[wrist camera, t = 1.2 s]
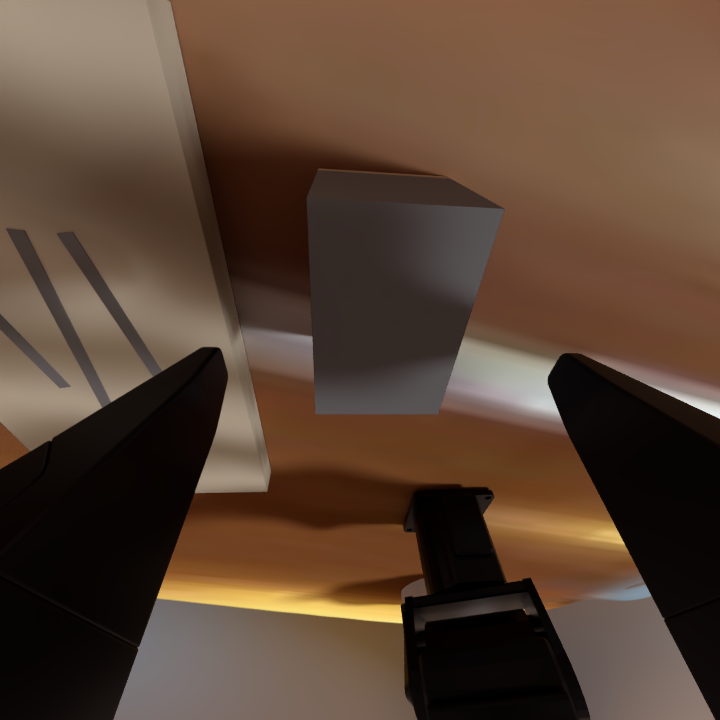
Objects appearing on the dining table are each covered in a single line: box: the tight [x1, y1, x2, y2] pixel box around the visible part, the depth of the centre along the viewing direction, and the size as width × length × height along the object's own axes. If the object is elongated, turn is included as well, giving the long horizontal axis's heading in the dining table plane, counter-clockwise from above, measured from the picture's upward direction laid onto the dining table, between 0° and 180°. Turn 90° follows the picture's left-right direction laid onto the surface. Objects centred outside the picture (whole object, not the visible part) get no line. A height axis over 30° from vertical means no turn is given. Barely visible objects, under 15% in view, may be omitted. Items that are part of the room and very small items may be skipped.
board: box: [0, 0, 271, 493], centre depth 14 cm, size 22×12×2 cm, turn 176°
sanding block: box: [307, 168, 504, 414], centre depth 11 cm, size 7×4×5 cm, turn 176°
